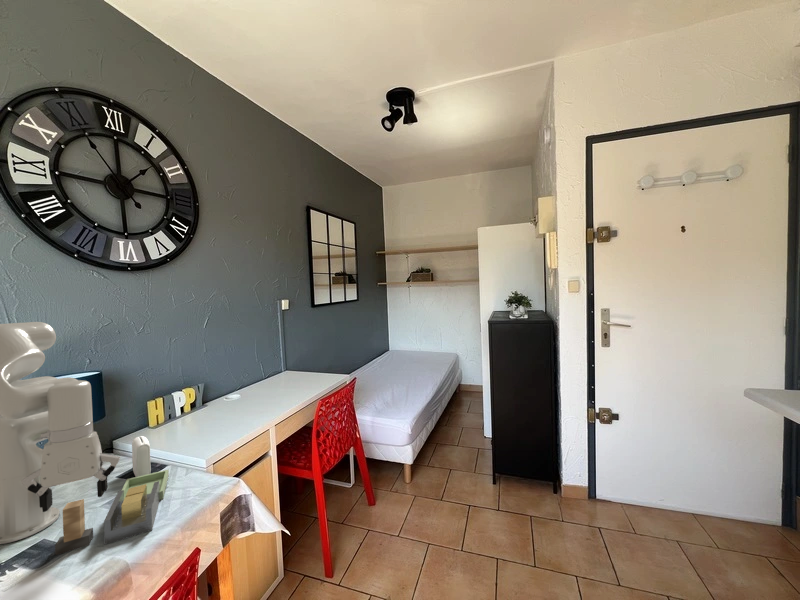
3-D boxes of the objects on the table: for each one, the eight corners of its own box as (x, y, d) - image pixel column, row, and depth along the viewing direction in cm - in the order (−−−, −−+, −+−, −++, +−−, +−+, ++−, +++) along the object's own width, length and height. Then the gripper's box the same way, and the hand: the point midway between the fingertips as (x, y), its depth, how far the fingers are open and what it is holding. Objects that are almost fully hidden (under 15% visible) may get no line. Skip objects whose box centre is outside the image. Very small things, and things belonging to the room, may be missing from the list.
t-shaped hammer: (55, 555, 76) (53, 512, 76) (60, 546, 79) (59, 505, 78) (89, 545, 79) (87, 503, 79) (93, 537, 82) (91, 496, 81)
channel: (104, 544, 79) (103, 521, 79) (118, 512, 91) (118, 491, 91) (152, 530, 84) (151, 507, 84) (159, 500, 96) (159, 481, 96)
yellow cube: (125, 510, 87) (125, 496, 87) (129, 502, 91) (128, 488, 91) (144, 505, 89) (144, 491, 89) (147, 497, 93) (146, 484, 93)
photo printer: (131, 470, 113) (130, 435, 113) (146, 465, 116) (145, 431, 116) (136, 481, 106) (135, 444, 106) (152, 475, 109) (151, 440, 109)
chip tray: (115, 512, 91) (115, 503, 91) (127, 486, 103) (126, 479, 103) (163, 499, 97) (163, 490, 97) (168, 476, 109) (168, 469, 109)
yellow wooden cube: (121, 520, 83) (121, 505, 83) (125, 511, 87) (125, 497, 87) (141, 514, 85) (140, 500, 85) (144, 506, 89) (143, 492, 89)
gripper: (11, 448, 71) (15, 524, 71) (114, 428, 79) (117, 496, 80) (28, 436, 77) (32, 506, 77) (121, 419, 86) (124, 482, 86)
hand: (75, 501), depth 78 cm, fingers open, 9 cm apart
